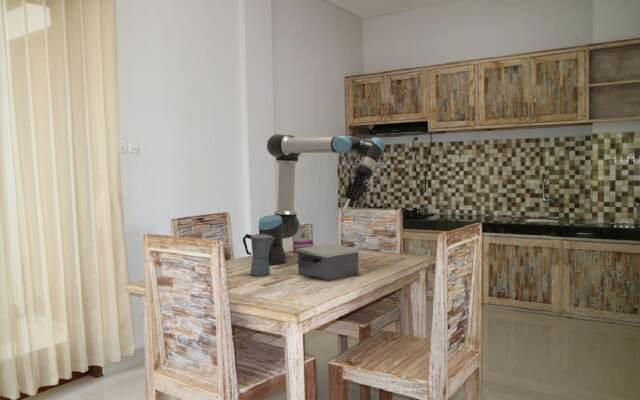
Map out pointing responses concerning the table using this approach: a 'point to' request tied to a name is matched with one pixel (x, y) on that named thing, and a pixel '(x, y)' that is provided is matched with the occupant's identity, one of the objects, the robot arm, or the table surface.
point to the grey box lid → (327, 250)
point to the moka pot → (259, 253)
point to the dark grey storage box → (328, 266)
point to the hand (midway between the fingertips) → (344, 212)
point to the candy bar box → (303, 237)
